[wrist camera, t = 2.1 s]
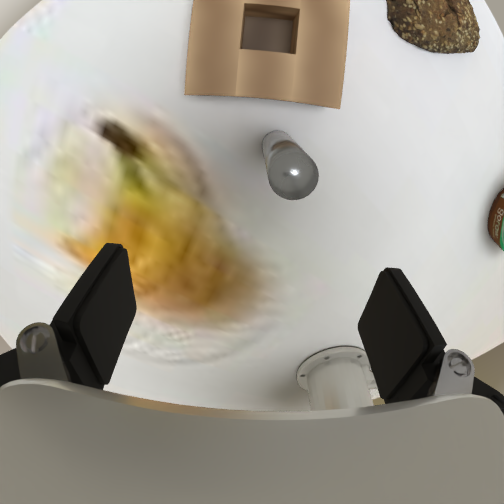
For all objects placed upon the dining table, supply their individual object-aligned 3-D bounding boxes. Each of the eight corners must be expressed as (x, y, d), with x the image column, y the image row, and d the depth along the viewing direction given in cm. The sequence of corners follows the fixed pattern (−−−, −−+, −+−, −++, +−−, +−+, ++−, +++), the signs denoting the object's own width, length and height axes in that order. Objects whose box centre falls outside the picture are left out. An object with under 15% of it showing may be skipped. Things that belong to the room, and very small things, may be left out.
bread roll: (475, 62, 19) (502, 63, 15) (392, 49, 20) (417, 43, 16) (451, -26, 12) (474, -34, 8) (364, -48, 14) (381, -66, 9)
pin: (295, 132, 25) (322, 155, 16) (291, 162, 27) (314, 202, 17) (263, 129, 25) (271, 149, 16) (260, 159, 26) (265, 197, 17)
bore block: (334, -1, 18) (350, -18, 13) (324, 106, 24) (339, 109, 19) (207, -14, 17) (198, -34, 13) (196, 95, 23) (184, 95, 19)
